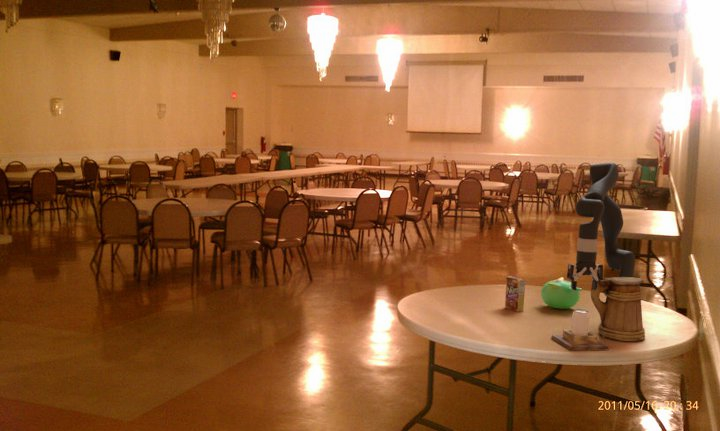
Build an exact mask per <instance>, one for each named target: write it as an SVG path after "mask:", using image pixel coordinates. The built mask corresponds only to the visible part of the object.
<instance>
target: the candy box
mask: <svg viewBox="0 0 720 431" xmlns="http://www.w3.org/2000/svg"><path fill="white" fill-rule="evenodd" d="M525 290H526V279H522V278H519V277H518V276H517V277H516V276H514V275H511V276H510V275H508V276H506V282H505V297H504V298H505V300H504V308H505V309H508V310H511V311H514V312H524V310H525V309H524V305H525V295H526V294H525Z"/></svg>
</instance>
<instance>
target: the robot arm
mask: <svg viewBox="0 0 720 431" xmlns="http://www.w3.org/2000/svg"><path fill="white" fill-rule="evenodd" d="M619 173H620V172H619V167H618V165H617V164H616V163H615V162H602V163H595V164H591V165H590V167H589V178H590V182H591V186H590V187H589V188H588V189H587V192H586V193H585V194H584V195H583V196H581V197H579V199H578V200H577V202H576V205H575V212H576V214H577V215H578V216H579V217H585V218H593V219H592V221H590V222H589V221H588V222H582V223H580V224H579V228H578V239H577V245H576V258H575V260H576V262H575V264H574V263H573V264H572V263H568V266H567V272H566V273H567V274H566V278H567V279H569V280H571V281H570V282H571V288H572V290H576V287H577V288H578V286H577V285H578V282H577V280H578V279H579V278H581V276H590V277H591V278H592V280H591V287H592V290H596V289H597V285H598V280H600V279H603V277H604V265H603V264H601V263H597V264H596V262H597V253H598V231H599V225H601V229H602V234H603V239H604V247H605V248H604V249H605V258H606V264H607V266H608V267H609V268H610V269H612V270H617V271H619V274H618V276H616V277H634V271H635V265H636V257H635V254H634V252H633V251H629V250H624V249H620V248H619V245H618V237H619V235H620V234H621V232H622V230H623V227H624V219H623V218H624V217H623V213H622V208H620V206H619V205H618V203H617V202H616V201H615V200H614V199H613V198H612V197H611V196H609V195H608V193H609V191H611V189H612V188H613V187H614V186H615V185H616V184H617V183H618V180H619V175H620V174H619ZM595 269H596V271H595ZM613 277H614V276H612V277H611V278H613Z"/></svg>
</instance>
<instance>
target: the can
mask: <svg viewBox="0 0 720 431" xmlns="http://www.w3.org/2000/svg"><path fill="white" fill-rule="evenodd" d="M571 315H572V316H571V328H570V330H571V333H572V334H573V335H575V336H588V331H589V325H590V313H589V310H586V309H580V308H579V309H577V308H576V309H573V313H572V314H571Z"/></svg>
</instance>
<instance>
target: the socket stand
mask: <svg viewBox="0 0 720 431" xmlns="http://www.w3.org/2000/svg"><path fill="white" fill-rule="evenodd" d="M551 339H552V340H553V341H555V342H557V343H558V344H559V345H560V346H562V347H565V348H566V349H567V350H568V351H572V350H575V351H596V350H595V349H608V350H609V345H607V344H606V343H604V342H603V341H600V340H599V336H598V335H596V334H594V333H592V332H591V331H589V330H588V336H575V335H573V334H572V333H571V329H563V330H562V334H552V335H551Z"/></svg>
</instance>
